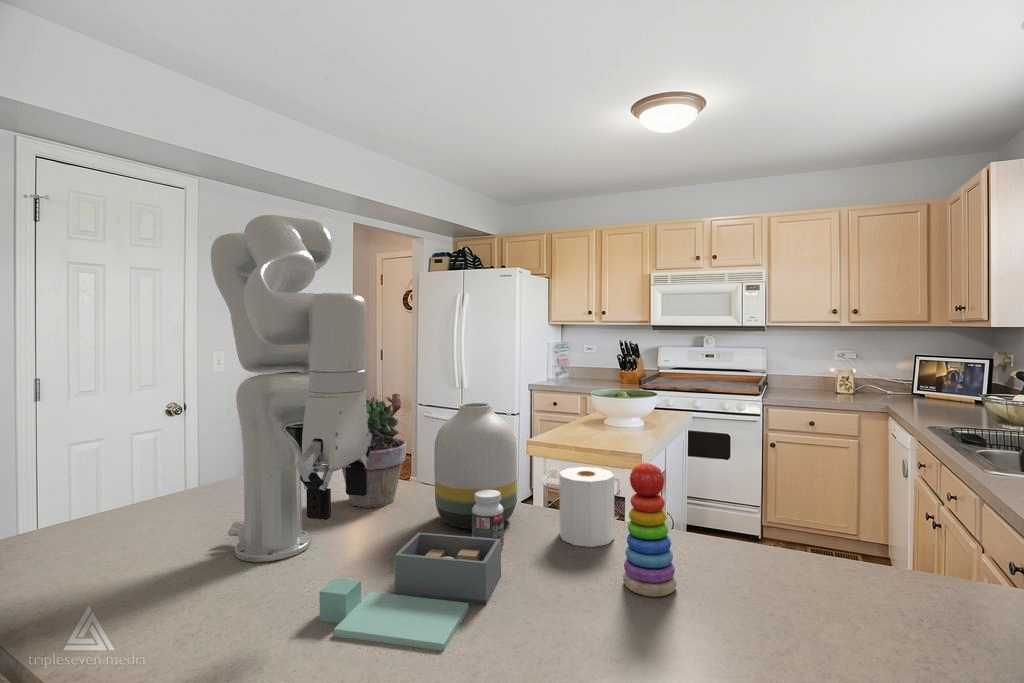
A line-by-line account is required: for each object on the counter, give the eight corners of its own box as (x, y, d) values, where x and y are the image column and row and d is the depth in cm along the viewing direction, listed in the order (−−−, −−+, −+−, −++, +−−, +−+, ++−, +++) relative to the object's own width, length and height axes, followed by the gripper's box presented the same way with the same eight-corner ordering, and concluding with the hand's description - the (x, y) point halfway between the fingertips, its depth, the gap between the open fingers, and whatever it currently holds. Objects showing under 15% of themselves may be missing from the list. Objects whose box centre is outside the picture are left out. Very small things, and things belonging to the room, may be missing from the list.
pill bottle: (499, 555, 93) (499, 499, 93) (468, 553, 94) (467, 497, 94) (506, 542, 99) (506, 489, 99) (476, 540, 100) (476, 487, 100)
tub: (395, 595, 80) (394, 555, 79) (418, 568, 88) (418, 532, 88) (486, 604, 77) (485, 563, 76) (501, 576, 85) (500, 539, 85)
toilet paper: (608, 550, 95) (608, 483, 95) (552, 542, 99) (552, 477, 99) (618, 530, 105) (618, 469, 104) (567, 523, 108) (567, 464, 108)
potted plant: (327, 493, 130) (326, 390, 129) (409, 487, 135) (408, 388, 134) (319, 518, 112) (317, 400, 112) (413, 510, 117) (412, 396, 117)
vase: (534, 521, 110) (533, 405, 109) (466, 543, 99) (465, 413, 98) (484, 502, 123) (483, 397, 122) (419, 519, 112) (418, 404, 111)
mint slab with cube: (306, 632, 70) (306, 602, 70) (346, 595, 80) (346, 568, 80) (444, 651, 66) (444, 619, 66) (468, 610, 75) (468, 582, 75)
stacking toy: (677, 578, 84) (677, 460, 84) (675, 603, 77) (675, 473, 76) (626, 571, 87) (626, 456, 86) (619, 594, 79) (619, 468, 79)
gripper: (346, 376, 83) (346, 485, 84) (273, 390, 66) (274, 526, 67) (391, 377, 81) (391, 489, 82) (328, 392, 64) (328, 532, 65)
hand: (338, 505), depth 74 cm, fingers open, 9 cm apart
